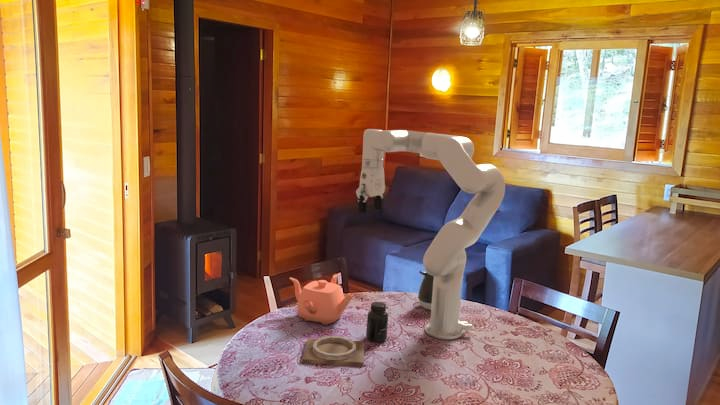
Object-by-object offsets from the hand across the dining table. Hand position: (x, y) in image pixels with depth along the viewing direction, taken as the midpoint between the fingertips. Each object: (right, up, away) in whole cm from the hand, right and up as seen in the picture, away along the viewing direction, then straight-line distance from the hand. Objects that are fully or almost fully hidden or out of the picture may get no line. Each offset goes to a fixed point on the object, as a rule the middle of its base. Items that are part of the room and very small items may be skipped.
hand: (370, 210), depth 194 cm
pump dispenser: (+23, -37, +10) cm, 45 cm away
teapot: (-18, -38, -4) cm, 42 cm away
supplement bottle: (+2, -42, -19) cm, 46 cm away
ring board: (-12, -43, -31) cm, 54 cm away
